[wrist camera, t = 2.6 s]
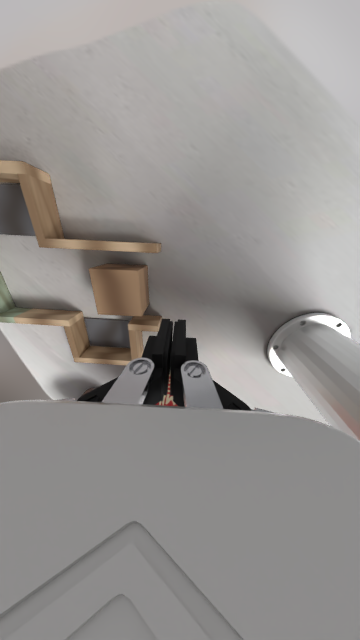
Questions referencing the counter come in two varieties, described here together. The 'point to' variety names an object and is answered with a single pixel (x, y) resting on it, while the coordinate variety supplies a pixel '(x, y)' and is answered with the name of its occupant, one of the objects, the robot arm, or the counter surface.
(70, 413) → the robot arm
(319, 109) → the counter surface
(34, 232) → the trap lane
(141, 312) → the block
